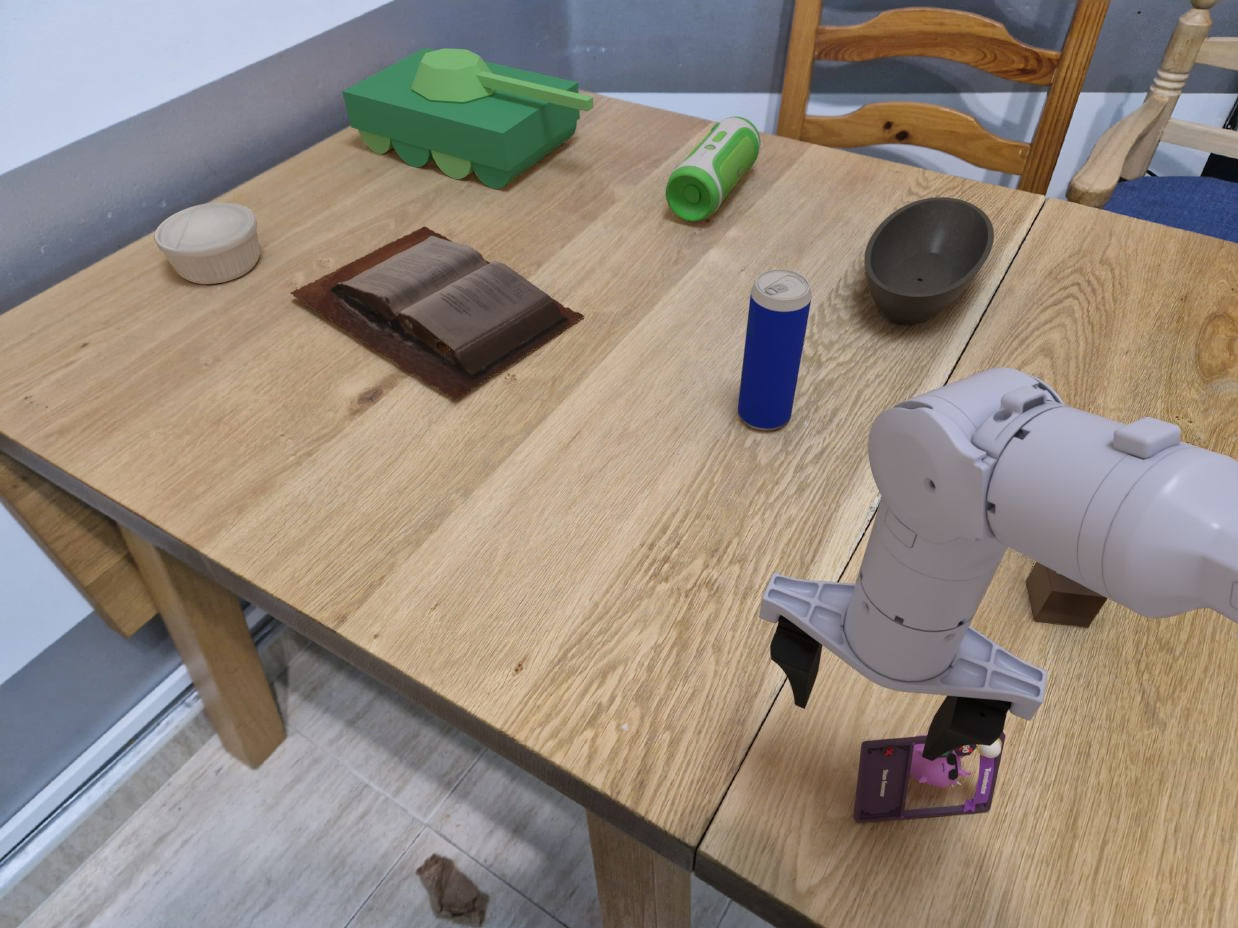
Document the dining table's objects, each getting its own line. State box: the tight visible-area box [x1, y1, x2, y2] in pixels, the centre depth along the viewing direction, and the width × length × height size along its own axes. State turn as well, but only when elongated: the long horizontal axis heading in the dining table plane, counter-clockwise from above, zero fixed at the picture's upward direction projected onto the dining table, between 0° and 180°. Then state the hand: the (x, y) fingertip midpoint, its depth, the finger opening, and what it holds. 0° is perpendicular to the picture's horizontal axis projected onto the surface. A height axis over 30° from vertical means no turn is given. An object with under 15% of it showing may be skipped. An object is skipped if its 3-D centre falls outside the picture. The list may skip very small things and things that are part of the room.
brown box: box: [1025, 561, 1109, 628], centre depth 66 cm, size 4×4×4 cm
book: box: [290, 226, 585, 401], centre depth 96 cm, size 20×28×4 cm
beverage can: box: [737, 268, 813, 431], centre depth 78 cm, size 5×5×15 cm
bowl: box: [863, 196, 995, 326], centre depth 96 cm, size 12×22×6 cm, turn 148°
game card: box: [852, 731, 1006, 824], centre depth 56 cm, size 7×5×9 cm
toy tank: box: [342, 47, 594, 190], centre depth 119 cm, size 18×12×35 cm
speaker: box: [665, 116, 761, 223], centre depth 111 cm, size 18×7×8 cm, turn 154°
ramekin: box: [153, 201, 261, 285], centre depth 102 cm, size 11×11×5 cm
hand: (866, 718), depth 52 cm, fingers open, 7 cm apart
